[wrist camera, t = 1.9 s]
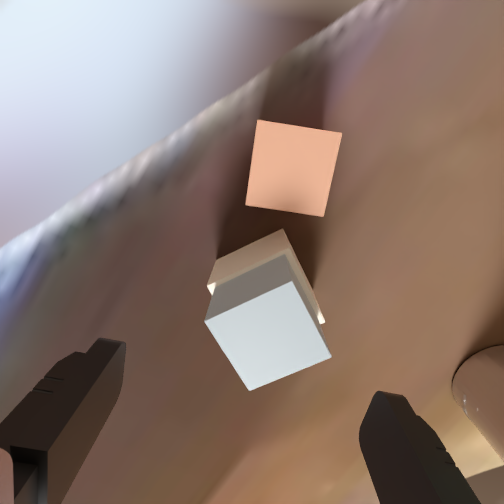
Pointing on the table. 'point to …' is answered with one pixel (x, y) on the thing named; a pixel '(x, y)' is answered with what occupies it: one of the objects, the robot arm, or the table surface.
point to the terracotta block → (292, 168)
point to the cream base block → (257, 256)
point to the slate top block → (266, 324)
